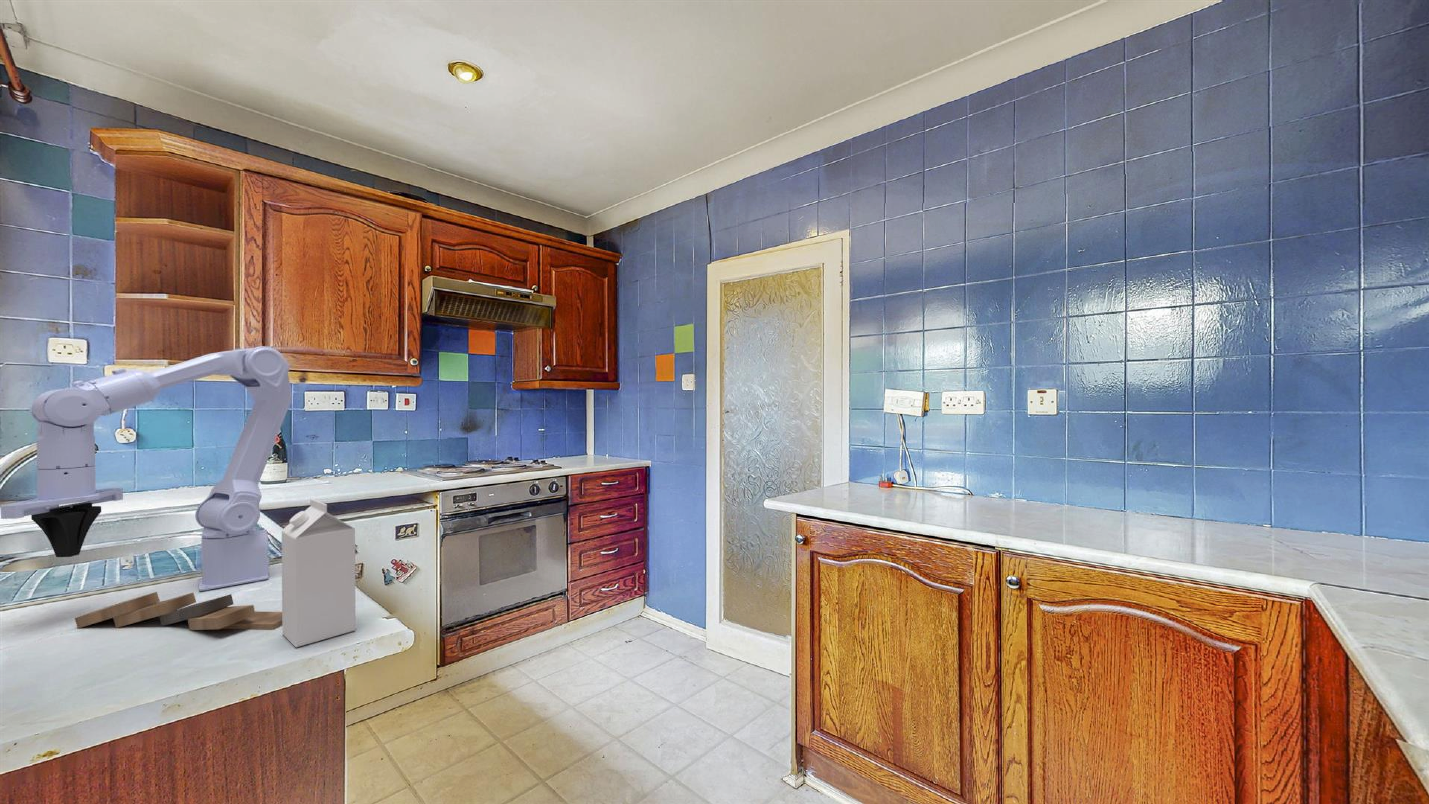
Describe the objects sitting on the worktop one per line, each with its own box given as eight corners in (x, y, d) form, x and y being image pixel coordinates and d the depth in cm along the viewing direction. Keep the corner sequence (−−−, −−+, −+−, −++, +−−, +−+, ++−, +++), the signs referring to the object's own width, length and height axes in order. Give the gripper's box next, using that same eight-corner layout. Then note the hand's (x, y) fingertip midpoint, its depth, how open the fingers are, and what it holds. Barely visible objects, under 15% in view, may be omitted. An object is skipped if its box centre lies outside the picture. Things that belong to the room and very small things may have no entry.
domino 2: (144, 606, 85) (193, 592, 85) (147, 615, 85) (196, 602, 85) (113, 617, 80) (165, 603, 80) (116, 627, 80) (168, 613, 80)
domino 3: (224, 606, 83) (253, 605, 80) (226, 617, 83) (255, 615, 80) (187, 619, 79) (216, 617, 76) (189, 630, 79) (219, 629, 76)
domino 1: (107, 606, 84) (156, 591, 84) (110, 616, 84) (159, 601, 84) (74, 618, 80) (126, 602, 80) (77, 628, 80) (129, 612, 80)
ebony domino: (193, 604, 85) (231, 594, 83) (195, 614, 85) (233, 604, 83) (159, 615, 81) (198, 604, 79) (161, 626, 81) (201, 615, 79)
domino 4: (248, 611, 84) (297, 612, 84) (248, 621, 84) (298, 622, 84) (221, 623, 80) (273, 624, 79) (221, 634, 80) (273, 635, 79)
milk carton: (339, 619, 83) (338, 495, 83) (356, 631, 79) (355, 500, 79) (281, 634, 78) (280, 502, 78) (295, 649, 73) (294, 508, 73)
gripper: (38, 473, 76) (39, 570, 76) (141, 461, 90) (142, 542, 90) (-16, 474, 75) (-15, 571, 75) (97, 462, 90) (97, 543, 90)
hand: (67, 555), depth 83 cm, fingers closed
